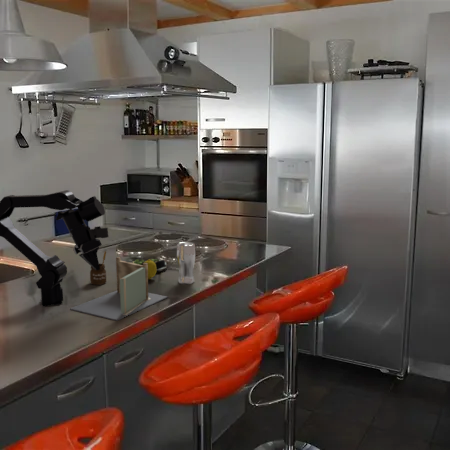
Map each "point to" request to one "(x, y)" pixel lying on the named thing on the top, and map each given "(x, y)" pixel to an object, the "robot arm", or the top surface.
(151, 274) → the lemon
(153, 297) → the card
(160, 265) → the salad plate
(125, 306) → the pale green panel
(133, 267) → the fence fixed section
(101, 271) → the brown jar
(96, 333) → the top surface
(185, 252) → the beer glass
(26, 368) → the top surface
